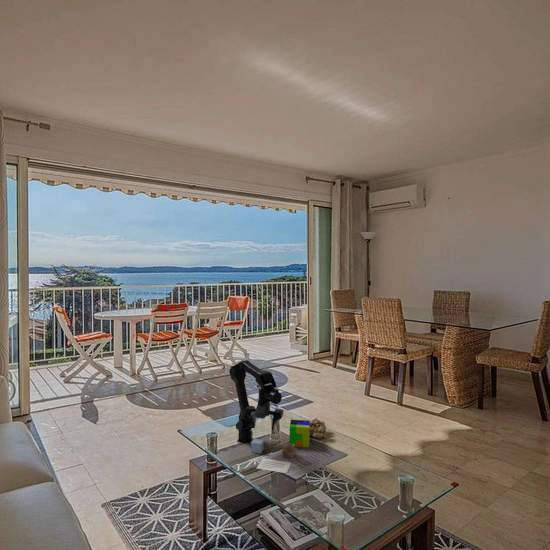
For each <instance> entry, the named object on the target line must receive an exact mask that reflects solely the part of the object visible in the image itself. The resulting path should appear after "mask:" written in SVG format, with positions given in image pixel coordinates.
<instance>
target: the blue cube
mask: <svg viewBox="0 0 550 550" xmlns="http://www.w3.org/2000/svg"><path fill="white" fill-rule="evenodd" d="M264 442H265V440H264V439H259V438H253V439H252V440H251V441H250V453H254V454H262V452H263V451H264V446H265V443H264Z"/></svg>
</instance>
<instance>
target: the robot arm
mask: <svg viewBox="0 0 550 550" xmlns="http://www.w3.org/2000/svg"><path fill="white" fill-rule="evenodd" d="M228 372H229V375H230V379H231V380H232V381H233V382H234V384H235V388H236V394H237V400H238V405H239V410H240V412H239V414H238V421H237V422H236V424H235V429H236V430H237V431H238V439H237V441H236V442H238V443H245V444H249V443H251V442H252V441H253V440H254V437H253V434H254V433H253V431H252V430H253V429H256V423H257V419H261V420H263V419H266V417H269V416H273V417H272V423H271V431H272V432H273V430H274V428H275V425H276V423H277V422H278V421H279V420H281V419H282V418H283V417H284V410H283V409H279V408H275V410H271V403H272V404H273V405H278V404H280V403H281V401H282V400H283V399H282V398H283V396H282V393H281V392H279V391H280V389H278V388H277V387H278V386H277V382H276V381H275V377H274V376H273V374H272V372H271V371H268V370H264V369H260V368H259V367H258V366H256V365H254V364H253V363H251V361H250V360H241V361H239V362H238V363H236V364H235V365H232V366H230V368H229V371H228ZM247 373H248V375H250V376H252V377H253V378H254V380H255V382H256V384H257V385H256V388H258V401H257V405H256V406H255V405H250V403H249V399H248V398H249V397H248V394H247V388H246V383H245V380H246V377H247Z"/></svg>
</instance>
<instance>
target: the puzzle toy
mask: <svg viewBox="0 0 550 550" xmlns="http://www.w3.org/2000/svg"><path fill="white" fill-rule="evenodd" d="M310 421H311V420H306V419H305V420H304V419H303V420H302V419H290V423H289V443H290V444H295V448H296V447H297V448H309V447H310V436H309V433H310Z"/></svg>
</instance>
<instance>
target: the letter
mask: <svg viewBox="0 0 550 550" xmlns="http://www.w3.org/2000/svg"><path fill="white" fill-rule="evenodd" d="M291 465H292V462H289V461H282V460H275V459H269V458H261V460H260V462H259V463H258V465H257V466H256V469H257V470H264V471H271V472H276V473H277V472H278V473H282V474H283V473H284V474H287V473H288V471H289V468H291Z"/></svg>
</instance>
